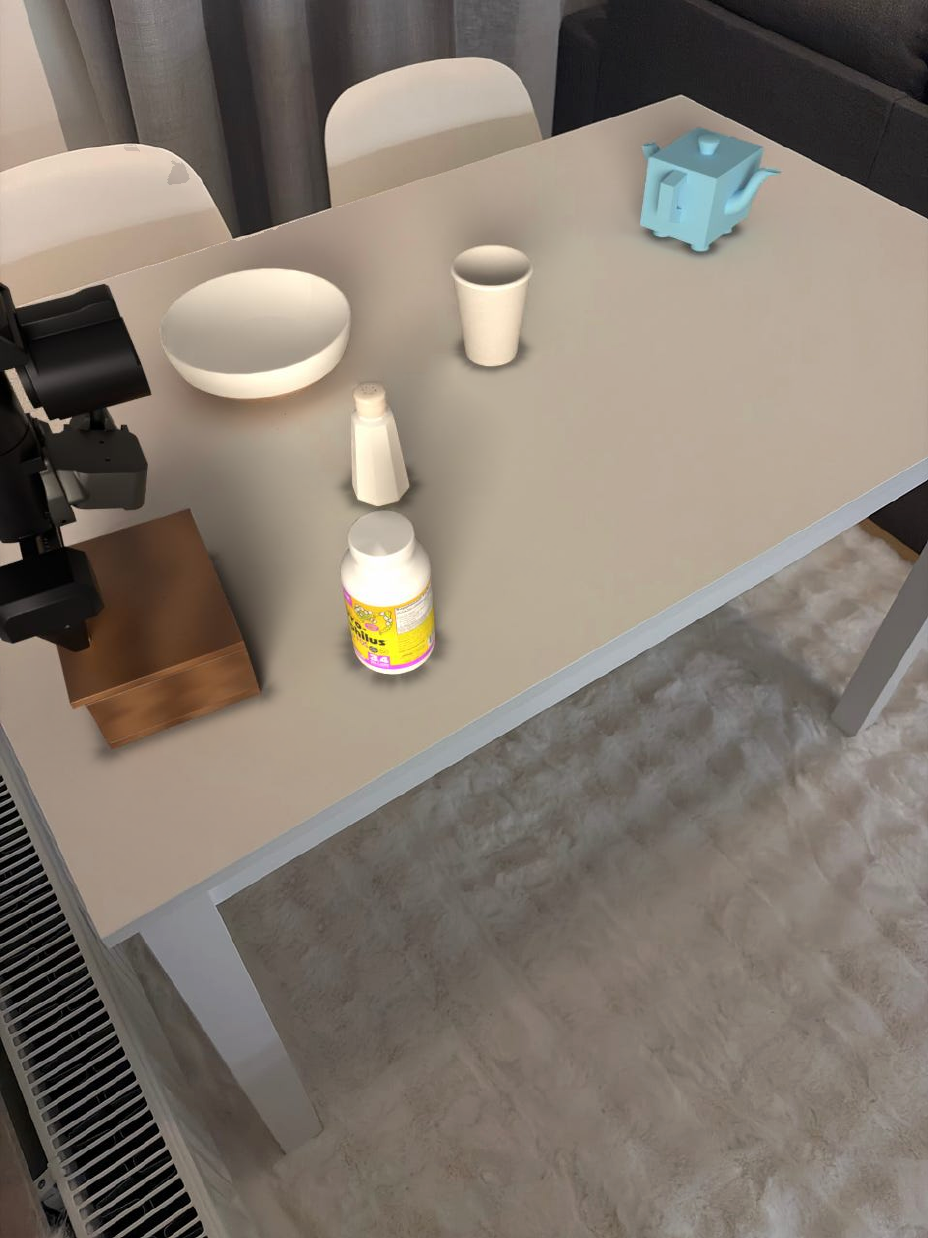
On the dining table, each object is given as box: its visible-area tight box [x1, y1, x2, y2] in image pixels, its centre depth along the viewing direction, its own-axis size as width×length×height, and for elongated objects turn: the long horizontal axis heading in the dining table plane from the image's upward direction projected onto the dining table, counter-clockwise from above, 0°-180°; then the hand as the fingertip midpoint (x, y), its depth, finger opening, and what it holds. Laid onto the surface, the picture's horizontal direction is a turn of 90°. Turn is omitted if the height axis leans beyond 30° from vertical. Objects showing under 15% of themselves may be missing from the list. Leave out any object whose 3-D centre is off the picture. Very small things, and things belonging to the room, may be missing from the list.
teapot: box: [639, 126, 782, 252], centre depth 110 cm, size 16×18×11 cm
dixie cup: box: [449, 244, 534, 367], centre depth 96 cm, size 8×8×10 cm
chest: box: [84, 646, 262, 750], centre depth 72 cm, size 12×16×6 cm
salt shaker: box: [350, 381, 410, 507], centre depth 82 cm, size 5×5×11 cm
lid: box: [55, 507, 246, 710], centre depth 68 cm, size 12×16×5 cm
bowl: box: [158, 267, 352, 402], centre depth 96 cm, size 20×20×6 cm
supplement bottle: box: [339, 510, 436, 675], centre depth 69 cm, size 7×7×13 cm
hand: (70, 603), depth 67 cm, fingers open, 9 cm apart
